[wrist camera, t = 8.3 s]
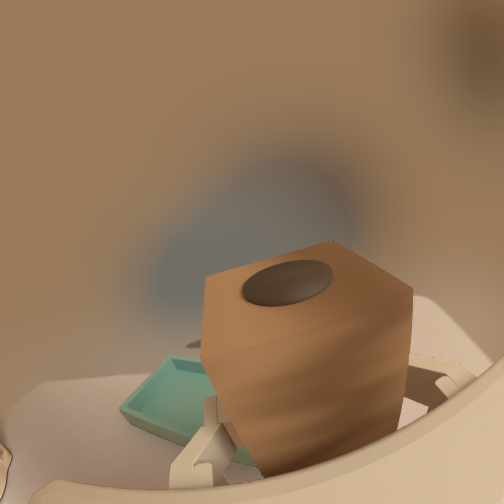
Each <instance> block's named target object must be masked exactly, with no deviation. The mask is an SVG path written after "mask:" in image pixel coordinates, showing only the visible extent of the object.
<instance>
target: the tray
mask: <svg viewBox="0 0 504 504" xmlns="http://www.w3.org/2000/svg"><path fill="white" fill-rule="evenodd" d="M215 395H217V394H216V392H215V390H214V388H213V386H212V383H211V381H210V379H209V377H208V375H207V373H206V371H205V369H204V367H203V365H202V363H201V360H200V359H199V358H192V357H184V356H178V355H171V354H170V355H169V356H168V357H167V358H166V359H165V360H164V361H163V362H162V363H161V364H160V366H159V367H158V368H157V369H156V370H155V371H154V372H153V373H152V374H151V375H150V376H149V377H148V378H147V379H146V380H145V381H144V382H143V384H142V385H141V386H140V387H139V388H138V389H137V390H136V391H135V392H134V393H133V394H132V395H131V396H130V397H129V398H128V399H127V400H126V401H125V402H124V404H123V405H122V406H121V407H120V408H119V410H120V411H121V413H122V414H123V415H124V416H125V418H126V419H127V420H128V421H129V423H130V424H132V425H134V426H136V427H139V428H141V429H143V430H145V431H147V432H150V433H152V434H154V435H157V436H159V437H162V438H164V439H166V440H169V441H172V442H174V443H177V444H180V445H182V446H185V447H186V445H187V444H188V443H189V442H190V440H191V439H192V438H193V436H194V435H195V434H196V433H197V431H198V430H199V429H200V427H204V399H205V397H209V396H215ZM231 461H234V462H238V463H242V464H247V465H251V466H256V467H257V465H256V464H255V462H254V461H253V459H252V457H251V456H250V454H249V452H248V451H247V449H246V447H245V446H242V447H237V449H236V451H235V453H234V455H233V457H232V459H231Z"/></svg>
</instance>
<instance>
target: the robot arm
mask: <svg viewBox="0 0 504 504" xmlns="http://www.w3.org/2000/svg"><path fill="white" fill-rule="evenodd" d="M404 397H406V398H409V399H411V400H413V401H416V402H418V403H421V404H423V405H426V406H428V411H427V413H426V414H425V415H423V416H421V417H420V418H418V419H416V420H415V421H413V422H411V423H409V424H408V425H406V426H404V427H402V428H400V429H399V430H397V431H395V432H393V433H391V434H389V435H387V436H385V437H383V438H381V439H379V440H377V441H374V442H372V443H370V444H368V445H366V446H363V447H361V448H359V449H356V450H354V451H352V452H349V453H347V454H344V455H342V456H339V457H336V458H334V459H331V460H328V461H325V462H322V463H319V464H316V465H313V466H310V467H307V468H303V469H300V470H297V471H293V472H289V473H285V474H282V475H277V476H273V477H269V478H264V479H260V480H255V481H249V482H244V483H238V484H231V485H229V484H228V483H227V482H226V481H225V479H224V478H223V477H222V476H223V474H224V472H225V470H226V469H227V467H228V465H229V463H230V461H231V459H232V457H233V455H234V453H235V451H236V449H237V447H242V446H245V445H244V444H243V442H242V440H241V438H240V437H239V435H238V433H237V431H236V430H235V428H234V426H233V424H232V422H231V420H230V419H229V417H228V415H227V413H226V411H225V409H224V407H223V405H222V403H221V401H220V399H219V398H218V396H217V395H215V396H209V397H205V399H204V427H200V429H199V430H198V431H197V433H196V434H195V435H194V436H193V438H192V439H191V440H190V442H189V443H188V444H187V445H186V447H185V448H184V449H183V450H182V452H181V453H180V454H179V455H178V457H177V458H176V459H175V460H174V461H173V463H172V464H171V465H170V477H169V490H143V489H125V488H114V487H104V486H97V485H90V484H84V483H78V482H73V481H68V480H64V479H54V480H53V481H51V482H49V483H48V484H46V485H45V486H44V487H42V488H41V489H40V490H38V491H37V492H36V493H34V494H33V496H32V497H31V499H30V500H29V502H28V504H504V355H503V356H502V357H500V358H499V359H498V360H497V361H496V362H495V363H494V364H493V365H492V366H490V367H489V368H488V369H487V370H486V371H485V372H483V373H482V374H481V375H480V376H479V377H476V376H474V375H473V374H472V373H471V372H470V371H469V370H468V369H467V368H466V367H464V366H463V365H462V364H461V363H456V362H451V361H446V360H441V359H436V358H431V357H426V356H422V355H417V354H415V355H412V354H411V353H410V354H409V363H408V371H407V378H406V385H405V391H404ZM11 459H12V455H11V454H10V453H9V452H8V451H7V450H6V449H5V448H4V447H3V446H2V445H1V443H0V498H1V496H2V494H3V492H4V489H5V485H6V477H7V469H8V467H9V464H10V462H11Z"/></svg>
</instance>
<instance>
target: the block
mask: <svg viewBox="0 0 504 504" xmlns="http://www.w3.org/2000/svg"><path fill="white" fill-rule="evenodd" d="M412 312H413V288H411V287H410V286H408V285H407V284H405V283H404V282H402V281H400V280H399V279H397V278H395V277H394V276H392V275H391V274H389V273H388V272H386V271H384V270H383V269H381V268H379V267H378V266H376V265H374V264H373V263H371V262H369V261H368V260H366V259H364V258H363V257H361V256H359V255H358V254H356V253H354V252H353V251H351V250H349V249H347V248H346V247H344V246H342V245H340V244H338V243H337V242H335V241H334V240H331V241H328V242H325V243H321V244H318V245H315V246H311V247H308V248H305V249H301V250H297V251H294V252H290V253H287V254H284V255H280V256H277V257H273V258H270V259H266V260H263V261H259V262H256V263H252V264H249V265H245V266H242V267H238V268H235V269H231V270H228V271H225V272H221V273H217V274H214V275H210V276H207V277H206V283H205V294H204V307H203V320H202V335H201V336H202V337H201V353H200V360H201V363H202V365H203V367H204V369H205V371H206V373H207V375H208V377H209V379H210V381H211V383H212V386H213V388H214V390H215V392H216V394H217V396H218V398H219V399H220V401H221V403H222V405H223V407H224V409H225V411H226V413H227V415H228V417H229V419H230V420H231V422H232V424H233V426H234V428H235V430H236V431H237V433H238V435H239V437H240V438H241V440H242V442H243V444H244V445H245V447H246V449H247V451H248V452H249V454H250V456H251V457H252V459H253V461H254V462H255V464H256V465H257V467H258V469H259V470H260V472H261V474H262V475H263V477H264V478H269V477H273V476H277V475H282V474H285V473H289V472H293V471H297V470H300V469H303V468H307V467H310V466H313V465H316V464H319V463H322V462H325V461H328V460H331V459H334V458H336V457H339V456H342V455H344V454H347V453H349V452H352V451H354V450H356V449H359V448H361V447H363V446H366V445H368V444H370V443H372V442H374V441H377V440H379V439H381V438H383V437H385V436H387V435H389V434H391V433H393V432H395V431H397V427H398V423H399V418H400V413H401V408H402V403H403V397H404V391H405V385H406V378H407V371H408V363H409V354H410V344H411V331H412Z"/></svg>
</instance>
